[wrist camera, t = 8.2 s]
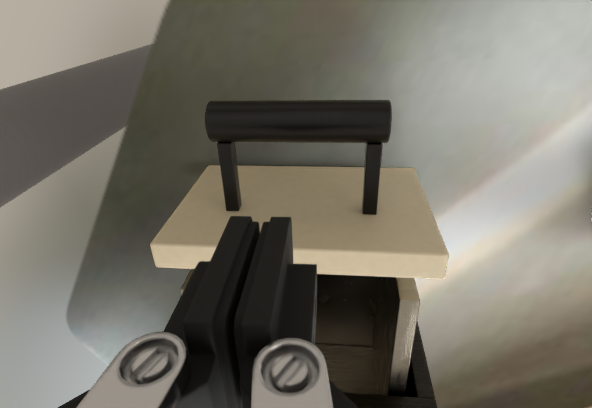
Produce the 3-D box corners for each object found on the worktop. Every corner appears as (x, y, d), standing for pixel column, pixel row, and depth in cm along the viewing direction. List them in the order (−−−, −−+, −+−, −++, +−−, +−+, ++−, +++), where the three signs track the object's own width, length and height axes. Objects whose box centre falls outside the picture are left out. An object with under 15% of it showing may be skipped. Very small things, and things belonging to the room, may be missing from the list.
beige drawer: (194, 77, 20) (117, 124, 13) (426, 74, 18) (476, 125, 12) (233, 333, 28) (200, 441, 22) (391, 343, 27) (408, 460, 21)
